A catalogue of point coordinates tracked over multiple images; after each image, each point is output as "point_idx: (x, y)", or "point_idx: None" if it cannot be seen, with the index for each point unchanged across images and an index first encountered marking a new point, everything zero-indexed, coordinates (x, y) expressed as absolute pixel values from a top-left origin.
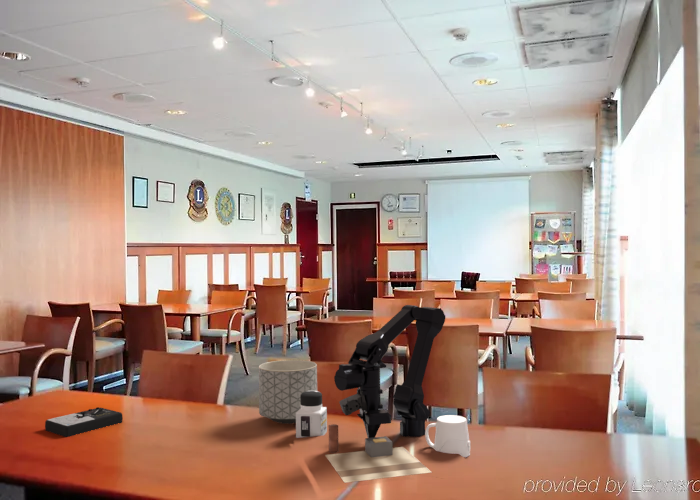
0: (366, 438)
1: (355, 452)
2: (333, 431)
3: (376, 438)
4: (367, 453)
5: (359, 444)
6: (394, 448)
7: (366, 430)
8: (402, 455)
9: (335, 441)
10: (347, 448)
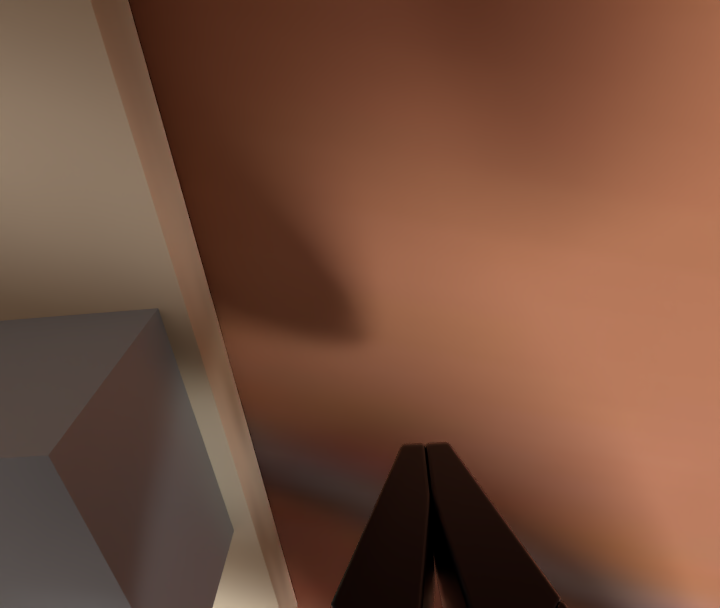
0: (44, 475)
1: (102, 150)
2: None
3: (54, 602)
4: (46, 318)
5: (685, 292)
6: (246, 589)
7: (473, 584)
8: None
9: None
10: (585, 72)
